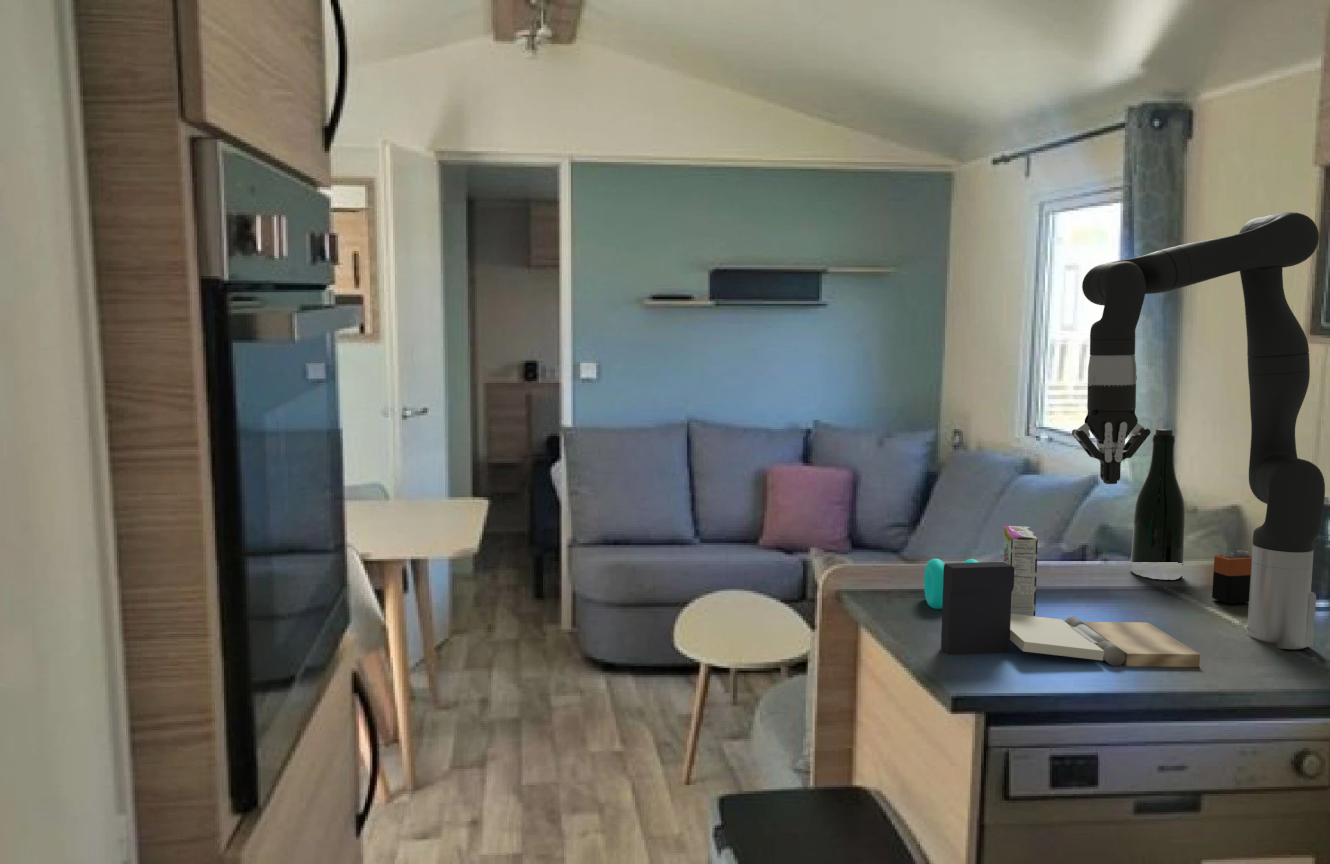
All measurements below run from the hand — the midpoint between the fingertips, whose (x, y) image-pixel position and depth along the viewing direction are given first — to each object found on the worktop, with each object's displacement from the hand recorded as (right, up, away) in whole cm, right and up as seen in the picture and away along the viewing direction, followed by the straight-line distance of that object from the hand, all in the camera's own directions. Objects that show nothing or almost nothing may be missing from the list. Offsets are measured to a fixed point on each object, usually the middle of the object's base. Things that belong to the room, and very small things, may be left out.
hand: (1109, 483), depth 172 cm
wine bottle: (+33, -24, +52) cm, 66 cm away
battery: (+39, -26, +32) cm, 57 cm away
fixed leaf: (+4, -28, 0) cm, 29 cm away
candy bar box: (-9, -27, +20) cm, 34 cm away
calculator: (-24, -29, -2) cm, 37 cm away
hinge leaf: (-10, -27, 0) cm, 29 cm away
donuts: (-20, -26, +24) cm, 40 cm away
